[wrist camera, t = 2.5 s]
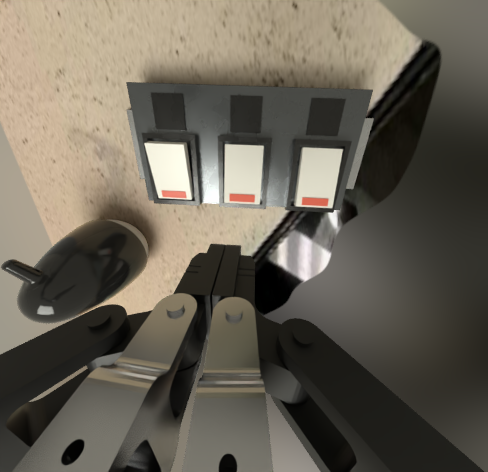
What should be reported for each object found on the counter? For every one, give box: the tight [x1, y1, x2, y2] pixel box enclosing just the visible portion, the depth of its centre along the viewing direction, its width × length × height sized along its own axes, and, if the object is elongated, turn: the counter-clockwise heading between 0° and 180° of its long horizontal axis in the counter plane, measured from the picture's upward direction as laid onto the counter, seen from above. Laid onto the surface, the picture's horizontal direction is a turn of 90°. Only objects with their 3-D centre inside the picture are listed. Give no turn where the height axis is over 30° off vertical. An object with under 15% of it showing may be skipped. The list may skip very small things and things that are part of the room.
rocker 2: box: [294, 147, 343, 208], centre depth 21 cm, size 6×4×1 cm, turn 178°
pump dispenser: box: [1, 220, 148, 323], centre depth 25 cm, size 10×10×15 cm
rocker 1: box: [144, 141, 194, 200], centre depth 21 cm, size 6×4×1 cm, turn 178°
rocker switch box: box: [126, 82, 374, 213], centre depth 22 cm, size 12×29×5 cm, turn 88°
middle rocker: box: [224, 144, 264, 204], centre depth 21 cm, size 6×4×1 cm, turn 178°
